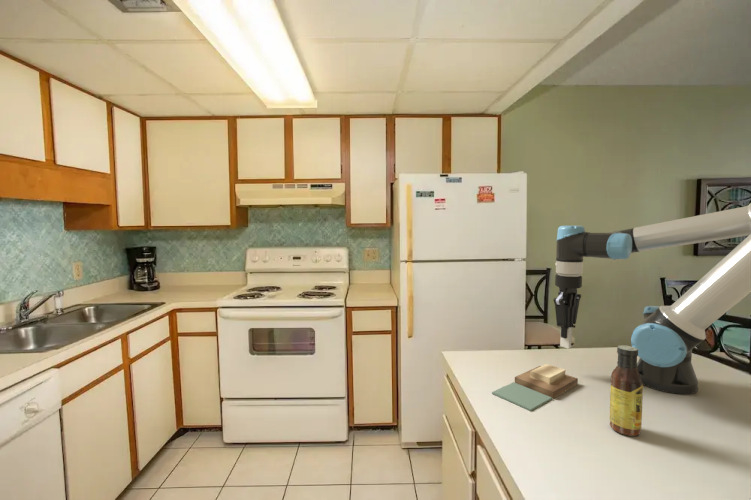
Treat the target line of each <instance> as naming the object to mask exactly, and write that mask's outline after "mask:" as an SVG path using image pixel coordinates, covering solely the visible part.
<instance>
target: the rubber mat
mask: <svg viewBox="0 0 751 500" xmlns="http://www.w3.org/2000/svg"><path fill="white" fill-rule="evenodd" d="M491 394H492V395H494V396H495V397H498V398H500V399H503V400H504V401H507V402H508V403H511V404H513V405H516V406H518V407H521V408H522V409H524V410H527V411H529V412H532V411H534V410H536V409H537V408H539V407H541V406H542V405H544V404H546V403H548V402H550V401H551V400H553V399H552V397H549V396H547V395H544V394H542V393H539V392H537V391H534V390H532V389H529V388H527V387H524V386H522V385H519V384H517V383H515V381H514V382H511V383H509V384H507V385H505V386H502V387H500V388H498V389H496V390H493V391H491Z"/></svg>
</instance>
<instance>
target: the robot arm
mask: <svg viewBox="0 0 751 500" xmlns="http://www.w3.org/2000/svg"><path fill="white" fill-rule="evenodd" d="M556 236H557V237H556V251H555V252H556V258H555V264H554V265H555V273H556V274H555V276H554V285H555V286H556V287H558V288H559V290H558V293H557V294H558V296H557V297H554V298H553V303H554V310H555V319H556V320H555V321H556V326H557V327H558V328H559V327H560V338H559V339H560V340H559V341H560V342H559V347H561V348H565V349H572V334H573V333H572V330H573V329H574V328H576V324H577V318H578V313H579V308H580V307H579V305H580V300H581V298H582V294H579V293H578V289H581V288H582V286H583V276H581V275H583V273H584V257H585V258H599V259H608V260H609V259H612V260H627V259H629V258H630V257H631V255H632V254H635V253H640V252H644V251H645V252H647V251H652V250H659V249H660V250H661V249H665V248H666V249H667V248H673V247H679V246H685V245H686V246H687V245H692V244H701V243H707V242H713V241H721V240H726V239H733V238H740V237H745V238H744V239H743V240H742V241H741V242H740V243H739V244H737V246H735V247H734V248H733V249H732V250H731V251H730V252H729V253H728V254H727V255H726V256H724V257H723V258H722V259H721V260H720V261H719V262H718V263H717V264H715V265H714V266H713V267H711V269H710V270H709V271H708V272H707V273H706V274H704V275H703V276H702V277H701V278H700V279H699V280H697V282H695V283H694V284H693V285H692V286H691V287H690V288H689V289H688V290H687V291H686V292H685V293H683V294H682V295H681V296H680V297H679V298H677V300H676V301H675V302H673V303H671V305H660V306H658V305H646V306H645V307H644V308H643V309H644V310H643V313H642V315H643V320H642V322H641V323H640V324H639V325H638V326H637V327H635V328H634V329H633V331H632V333H631V338H630V343H631V347H635V348H637V349H638V356H637V357H639V359H638V360H637V368H638V371H639V374H640V377H641V380H642V382H643V386H646V387H648V388H650V389H651V388H652V389H654V390H658V391H662V392H665V393H671V394H677V395H678V394H680V395H690V394H691V395H692V394H694V393H697V392H698V389H699V381H698V378H697V377H698V376H697V375H696V372H695V370H694V369H695V368H694V366H693V364H692V353H693V349H694V348H696V347H697V346H698V345H700V343H702V342H703V341H704V340H705V339H707V335H706V329H707V328H709V327H710V326H711V325H713V323H715V322H716V321H718V320H719V319H720V318H721V317H722V316H723V315H725V314H726V313H727V312H728V311H729V310H731V309H732V308H733V307H734V306H736V305H737V304H738V303H740V302H741V301H742V300H744V298H745V297H746V296H748V295H749V294H750V293H751V202H750V203H749V204H748V205H746V206H741V207H736V208H731V209H725V210H720V211H714V212H710V213H704V214H698V215H695V216H694V215H693V216H689V217H684V218H680V219H679V218H677V219H674V220H669V221H667V220H666V221H663V222H659V223H653V224H647V225H642V226H637V227H632V228H627V229H621V230H615V231H610V232H588V231H586V229H585V226H583V225H560V226H558V228H557V235H556ZM572 328H573V329H572Z"/></svg>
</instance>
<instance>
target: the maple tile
mask: <svg viewBox="0 0 751 500" xmlns="http://www.w3.org/2000/svg"><path fill="white" fill-rule="evenodd" d="M540 366H541V367H538V366H537V367H538V368H536V367H535V368H536V369H534V368H533V369H534V370H532V369H531V370H532V371H530V377H531V378H533V379H536V380H539V381H541V382H544V383H547V384H551V383H553V382H555V381H557V380H559V379H561V378H563V377H565V374H566V369H564V368H560V367H558V366H554V365H551V364H549V363H545V364H542V365H540Z"/></svg>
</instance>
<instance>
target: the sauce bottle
mask: <svg viewBox="0 0 751 500" xmlns="http://www.w3.org/2000/svg"><path fill="white" fill-rule="evenodd" d="M616 348H617V349H616V353H617V363H616V364H617V365H616V367H614V369H613V370H612V372H611V376H610V377H611V383H610V389H609V390H610V391H609V395H610V396H609V397H610V398H609V425H610V428H611V429H612V430H614V432H616V433H619V434H621V435H625V436H627V437H628V436H629V437H634V436H635V437H636V436H637V437H638V436H639V435H640V433H641V430H642V419H643V418H642V417H643V401H644V399H643V397H644V395H643V392H644V391H643V390H644V385H643V382H642V380H641V377H640V374H639V371H638V368H637V363H638V357H639V356H638V349H637V348H635V347H632V345H631V346H630V345H617V347H616Z"/></svg>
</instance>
